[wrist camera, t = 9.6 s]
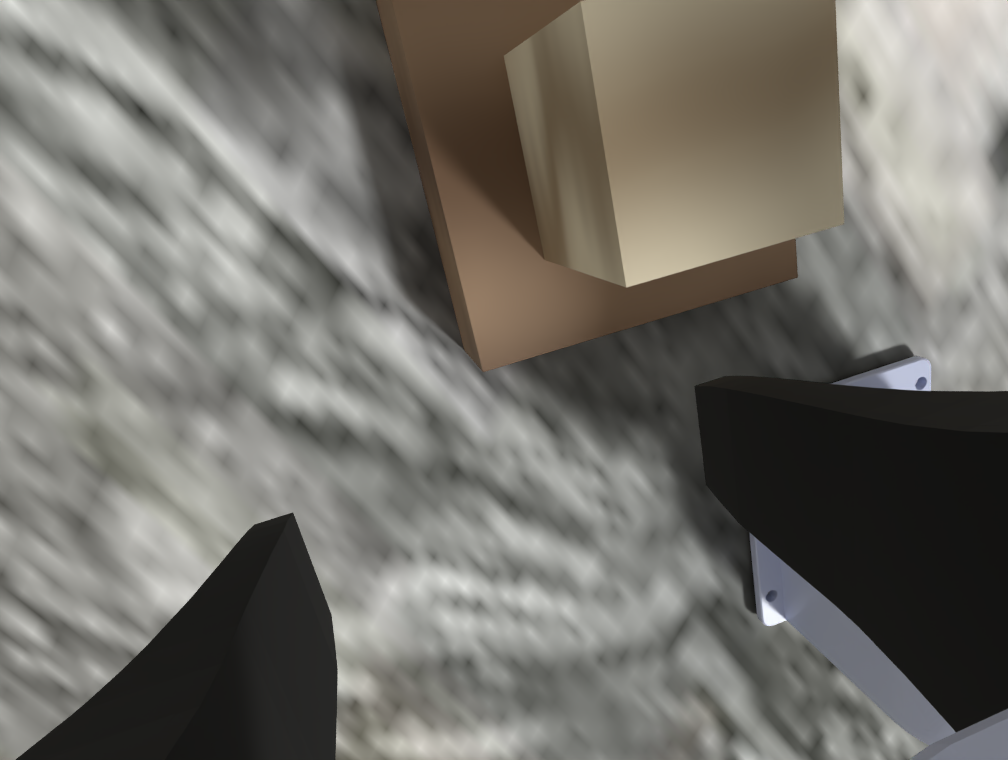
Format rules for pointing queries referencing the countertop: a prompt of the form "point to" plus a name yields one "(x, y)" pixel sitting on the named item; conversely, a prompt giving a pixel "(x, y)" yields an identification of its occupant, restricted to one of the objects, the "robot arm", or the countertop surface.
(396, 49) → the walnut block
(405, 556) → the countertop surface
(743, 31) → the maple cube
